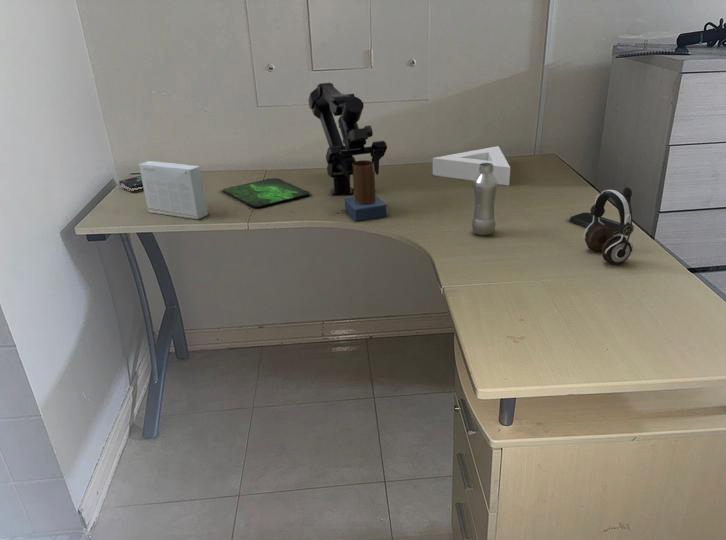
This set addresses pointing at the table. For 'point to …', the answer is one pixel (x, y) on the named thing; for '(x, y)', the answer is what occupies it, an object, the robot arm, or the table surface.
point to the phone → (587, 219)
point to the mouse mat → (265, 192)
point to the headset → (602, 235)
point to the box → (365, 209)
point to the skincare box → (174, 188)
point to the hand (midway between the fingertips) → (363, 176)
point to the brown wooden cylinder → (364, 182)
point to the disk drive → (133, 183)
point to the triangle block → (473, 165)
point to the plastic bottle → (484, 200)
